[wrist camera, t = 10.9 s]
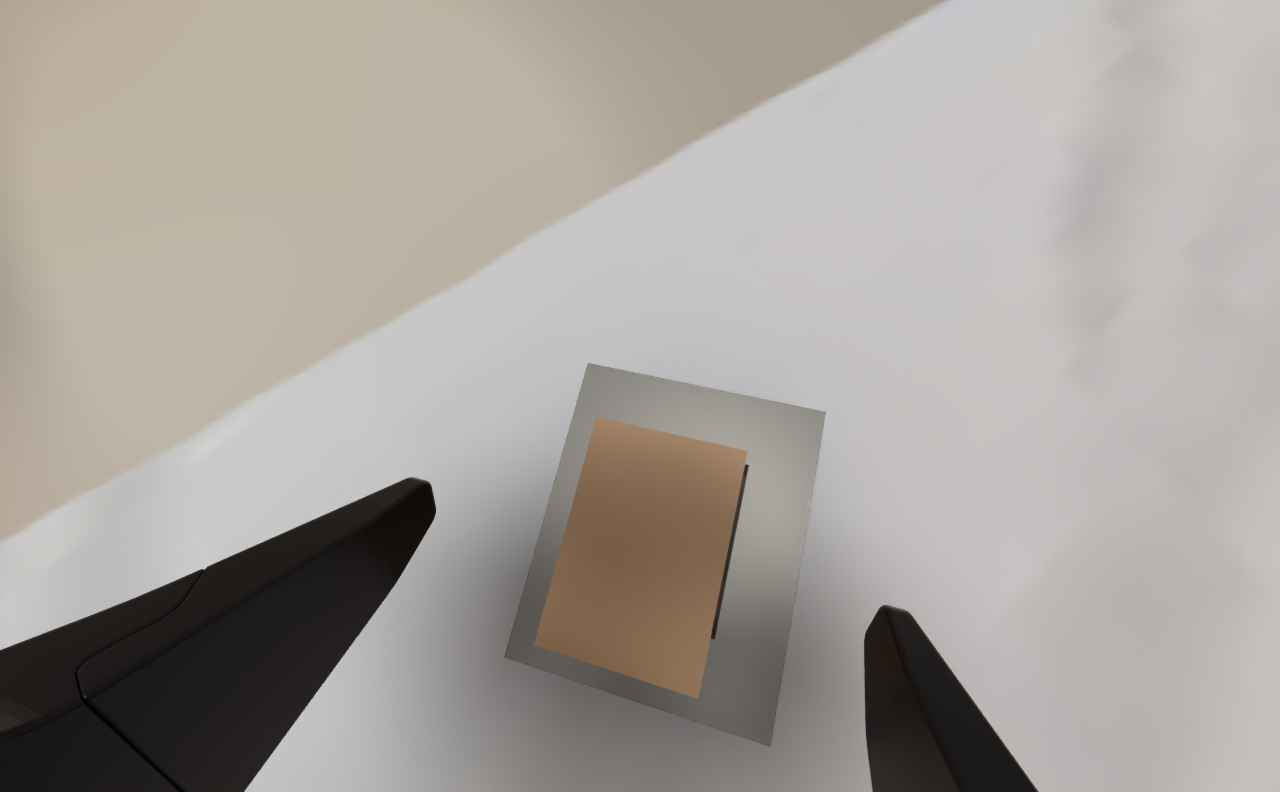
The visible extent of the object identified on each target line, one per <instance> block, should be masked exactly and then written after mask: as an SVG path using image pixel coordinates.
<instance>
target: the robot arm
mask: <svg viewBox="0 0 1280 792" xmlns="http://www.w3.org/2000/svg"><path fill="white" fill-rule="evenodd" d="M435 514H436V506H435V501H434V496H433V491H432V486H431V484H430V483H429V482H428V481H426V480H422V479H418V478H414V477H410V478H407V479H404V480H402V481H400V482H398V483H395V484H393V485H391V486H389V487H386V488H384V489H382V490H380V491H377V492H375V493H373V494H370V495H368V496H366V497H364V498H361V499H359V500H357V501H355V502H352V503H350V504H348V505H346V506H343V507H341V508H339V509H337V510H334V511H332V512H330V513H328V514H325V515H323V516H321V517H318V518H316V519H314V520H312V521H309V522H307V523H305V524H303V525H300V526H298V527H296V528H294V529H291V530H289V531H287V532H285V533H282V534H280V535H278V536H276V537H273V538H271V539H269V540H267V541H264V542H262V543H260V544H257V545H255V546H253V547H251V548H248V549H246V550H244V551H242V552H239V553H237V554H235V555H233V556H230V557H228V558H226V559H223V560H221V561H219V562H217V563H214V564H212V565H210V566H208V567H207V568H206V569H205V570H204V569H201V570H198V571H196V572H194V573H192V574H189V575H187V576H185V577H183V578H180V579H178V580H176V581H173V582H171V583H169V584H166V585H164V586H162V587H159V588H157V589H155V590H152V591H150V592H148V593H145V594H143V595H141V596H138V597H136V598H133V599H131V600H128V601H126V602H123V603H121V604H118V605H116V606H113V607H111V608H108V609H106V610H103V611H101V612H98V613H96V614H93V615H91V616H88V617H85V618H83V619H80V620H78V621H75V622H72V623H70V624H67V625H65V626H62V627H59V628H57V629H54V630H52V631H49V632H46V633H44V634H41V635H38V636H36V637H33V638H31V639H28V640H25V641H23V642H20V643H18V644H15V645H12V646H10V647H7V648H5V649H2V650H0V792H244V791H245V790H246V788H247V787H248V786H249V784H250V783H251V782H252V780H253V779H254V777H255V776H256V775H257V773H258V772H259V771H260V769H261V768H262V766H263V765H264V764H265V762H266V761H267V760H268V758H269V757H270V756H271V754H272V753H273V751H274V750H275V749H276V747H277V746H278V745H279V743H280V742H281V740H282V739H283V738H284V736H285V735H286V734H287V732H288V731H289V730H290V728H291V727H292V725H293V724H294V723H295V721H296V720H297V719H298V717H299V716H300V714H301V713H302V712H303V710H304V709H305V708H306V706H307V705H308V703H309V702H310V701H311V699H312V698H313V697H314V695H315V694H316V693H317V691H318V690H319V688H320V687H321V686H322V684H323V683H324V682H325V680H326V679H327V677H328V676H329V675H330V673H331V672H332V671H333V669H334V668H335V667H336V665H337V664H338V662H339V661H340V660H341V658H342V657H343V656H344V654H345V653H346V651H347V650H348V649H349V647H350V646H351V645H352V643H353V642H354V640H355V639H356V638H357V636H358V635H359V634H360V632H361V631H362V630H363V628H364V627H365V625H366V624H367V623H368V621H369V620H370V619H371V617H372V616H373V614H374V613H375V612H376V610H377V609H378V608H379V606H380V605H381V603H382V602H383V601H384V599H385V598H386V597H387V595H388V594H389V592H390V591H391V590H392V588H393V587H394V585H395V584H396V582H397V581H398V579H399V577H400V576H401V574H402V573H403V571H404V569H405V568H406V566H407V564H408V562H409V561H410V559H411V557H412V556H413V554H414V552H415V551H416V549H417V547H418V546H419V544H420V542H421V540H422V539H423V537H424V535H425V534H426V532H427V530H428V529H429V527H430V525H431V524H432V522H433V520H434V517H435ZM864 667H865V721H866V739H867V749H868V758H869V766H870V774H871V782H872V789H873V792H1038V790H1037V789H1036V788H1035V786H1034V785H1033V783H1032V782H1031V781H1030V779H1029V778H1028V776H1027V775H1026V774H1025V772H1024V771H1023V769H1022V768H1021V767H1020V765H1019V764H1018V763H1017V761H1016V760H1015V758H1014V757H1013V756H1012V754H1011V753H1010V751H1009V750H1008V749H1007V747H1006V746H1005V744H1004V743H1003V742H1002V740H1001V739H1000V737H999V736H998V735H997V733H996V732H995V730H994V729H993V728H992V726H991V725H990V723H989V722H988V721H987V719H986V718H985V717H984V715H983V714H982V712H981V711H980V710H979V708H978V707H977V705H976V704H975V703H974V701H973V700H972V698H971V697H970V696H969V694H968V693H967V691H966V690H965V689H964V687H963V686H962V684H961V683H960V682H959V680H958V679H957V677H956V676H955V675H954V673H953V672H952V671H951V669H950V668H949V666H948V665H947V664H946V662H945V661H944V659H943V658H942V657H941V655H940V654H939V652H938V651H937V650H936V648H935V647H934V645H933V644H932V643H931V641H930V640H929V638H928V637H927V636H926V634H925V633H924V632H923V630H922V629H921V627H920V626H919V625H918V623H917V622H916V620H915V619H914V618H913V616H912V615H911V614H910V613H909V612H908V611H906V610H903V609H900V608H896V607H892V606H889V605H883V606H881V607H880V608H879V610H878V612H877V613H876V615H875V617H874V619H873V620H872V622H871V624H870V625H869V627H868V629H867V631H866V634H865V639H864Z"/></svg>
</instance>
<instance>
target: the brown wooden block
mask: <svg viewBox="0 0 1280 792" xmlns="http://www.w3.org/2000/svg"><path fill="white" fill-rule="evenodd" d="M747 452H748V451H746V450H741V449H737V448H732V447H728V446H723V445H719V444H715V443H710V442H706V441H701V440H697V439H693V438H688V437H684V436H679V435H675V434H670V433H666V432H662V431H657V430H653V429H648V428H644V427H640V426H635V425H631V424H626V423H622V422H617V421H613V420H609V419H604V418H600V417H596V419H595V423H594V427H593V430H592V434H591V438H590V441H589V445H588V449H587V452H586V456H585V460H584V463H583V467H582V471H581V474H580V478H579V481H578V485H577V489H576V492H575V496H574V500H573V503H572V507H571V511H570V514H569V518H568V522H567V525H566V529H565V533H564V536H563V540H562V544H561V547H560V551H559V555H558V558H557V562H556V566H555V569H554V573H553V577H552V580H551V584H550V588H549V591H548V595H547V599H546V602H545V606H544V610H543V613H542V617H541V621H540V624H539V628H538V632H537V635H536V639H535V643H534V645H535V646H538V647H541V648H544V649H547V650H550V651H553V652H556V653H559V654H562V655H566V656H569V657H572V658H575V659H578V660H581V661H584V662H587V663H590V664H593V665H596V666H599V667H602V668H605V669H608V670H611V671H615V672H618V673H621V674H624V675H627V676H630V677H633V678H636V679H639V680H642V681H645V682H648V683H651V684H654V685H657V686H660V687H664V688H667V689H670V690H673V691H676V692H679V693H682V694H685V695H688V696H691V697H694V698H697V699H698V698H699V693H700V688H701V683H702V678H703V673H704V668H705V663H706V658H707V653H708V648H709V643H710V638H711V633H712V628H713V623H714V618H715V613H716V608H717V603H718V597H719V592H720V587H721V582H722V577H723V572H724V567H725V562H726V557H727V552H728V547H729V542H730V537H731V532H732V527H733V522H734V517H735V512H736V507H737V502H738V497H739V492H740V487H741V482H742V477H743V472H744V467H745V462H746V457H747Z"/></svg>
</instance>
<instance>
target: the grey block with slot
mask: <svg viewBox="0 0 1280 792" xmlns="http://www.w3.org/2000/svg"><path fill="white" fill-rule="evenodd" d="M825 414H826V412H823V411H818V410H814V409H809V408H804V407H799V406H794V405H789V404H784V403H779V402H775V401H770V400H765V399H760V398H755V397H750V396H745V395H741V394H736V393H731V392H726V391H721V390H716V389H711V388H707V387H702V386H697V385H692V384H687V383H682V382H677V381H673V380H668V379H663V378H658V377H653V376H648V375H643V374H639V373H634V372H629V371H624V370H619V369H614V368H609V367H605V366H600V365H595V364H590V363H588V365H587V368H586V372H585V375H584V379H583V382H582V386H581V389H580V393H579V396H578V400H577V404H576V407H575V411H574V414H573V418H572V421H571V425H570V428H569V432H568V435H567V439H566V442H565V446H564V449H563V453H562V456H561V460H560V463H559V467H558V470H557V474H556V477H555V481H554V484H553V488H552V491H551V495H550V498H549V502H548V505H547V509H546V512H545V516H544V520H543V523H542V527H541V530H540V534H539V537H538V541H537V544H536V548H535V551H534V555H533V558H532V562H531V565H530V569H529V572H528V576H527V579H526V583H525V586H524V590H523V593H522V597H521V600H520V604H519V607H518V611H517V614H516V618H515V621H514V625H513V629H512V632H511V636H510V639H509V643H508V646H507V650H506V653H505V658H508V659H511V660H514V661H517V662H520V663H523V664H526V665H529V666H532V667H535V668H538V669H541V670H544V671H547V672H550V673H553V674H556V675H559V676H562V677H565V678H568V679H571V680H574V681H577V682H580V683H583V684H586V685H589V686H592V687H595V688H598V689H601V690H604V691H606V692H609V693H612V694H615V695H618V696H621V697H624V698H627V699H630V700H633V701H636V702H639V703H642V704H645V705H648V706H651V707H654V708H657V709H660V710H663V711H666V712H669V713H672V714H675V715H678V716H681V717H684V718H687V719H690V720H693V721H696V722H699V723H702V724H705V725H708V726H711V727H714V728H717V729H720V730H723V731H725V732H728V733H731V734H734V735H737V736H740V737H743V738H746V739H749V740H752V741H755V742H758V743H761V744H764V745H767V746H770V745H771V739H772V733H773V727H774V721H775V715H776V709H777V703H778V697H779V690H780V684H781V678H782V672H783V666H784V660H785V654H786V648H787V642H788V636H789V630H790V624H791V618H792V612H793V606H794V600H795V594H796V588H797V582H798V576H799V570H800V564H801V558H802V552H803V546H804V540H805V534H806V528H807V522H808V516H809V510H810V504H811V498H812V492H813V486H814V480H815V474H816V468H817V462H818V456H819V450H820V444H821V438H822V432H823V426H824V420H825ZM596 417H600V418H604V419H609V420H613V421H617V422H622V423H626V424H631V425H635V426H640V427H644V428H648V429H653V430H657V431H662V432H666V433H670V434H675V435H679V436H684V437H688V438H693V439H697V440H701V441H706V442H710V443H715V444H719V445H723V446H728V447H732V448H737V449H741V450H746V451H748V452H747V457H746V462H745V467H744V472H743V477H742V482H741V487H740V492H739V497H738V502H737V507H736V512H735V517H734V522H733V527H732V532H731V537H730V542H729V547H728V552H727V557H726V562H725V567H724V572H723V577H722V582H721V587H720V592H719V597H718V603H717V608H716V613H715V618H714V623H713V628H712V633H711V638H710V643H709V648H708V653H707V658H706V663H705V668H704V673H703V678H702V683H701V688H700V693H699V698H698V699H697V698H694V697H691V696H688V695H685V694H682V693H679V692H676V691H673V690H670V689H667V688H664V687H660V686H657V685H654V684H651V683H648V682H645V681H642V680H639V679H636V678H633V677H630V676H627V675H624V674H621V673H618V672H615V671H611V670H608V669H605V668H602V667H599V666H596V665H593V664H590V663H587V662H584V661H581V660H578V659H575V658H572V657H569V656H566V655H562V654H559V653H556V652H553V651H550V650H547V649H544V648H541V647H538V646H535V645H534V643H535V639H536V635H537V632H538V628H539V624H540V621H541V617H542V613H543V610H544V606H545V602H546V599H547V595H548V591H549V588H550V584H551V580H552V577H553V573H554V569H555V566H556V562H557V558H558V555H559V551H560V547H561V544H562V540H563V536H564V533H565V529H566V525H567V522H568V518H569V514H570V511H571V507H572V503H573V500H574V496H575V492H576V489H577V485H578V481H579V478H580V474H581V471H582V467H583V463H584V460H585V456H586V452H587V449H588V445H589V441H590V438H591V434H592V430H593V427H594V423H595V419H596Z"/></svg>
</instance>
